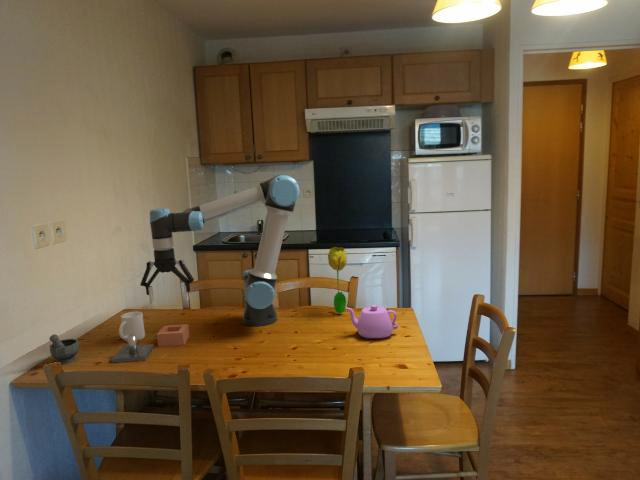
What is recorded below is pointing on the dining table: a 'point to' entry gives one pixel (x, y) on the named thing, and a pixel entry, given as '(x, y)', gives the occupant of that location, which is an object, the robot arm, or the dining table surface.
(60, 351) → the mortar and pestle
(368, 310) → the teapot
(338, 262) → the flower
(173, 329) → the terracotta brick slab
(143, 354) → the block
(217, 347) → the dining table surface
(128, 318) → the mug
